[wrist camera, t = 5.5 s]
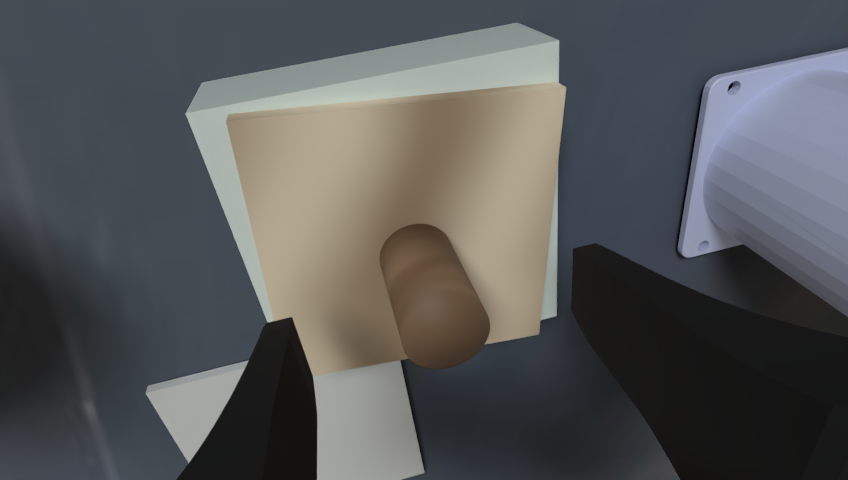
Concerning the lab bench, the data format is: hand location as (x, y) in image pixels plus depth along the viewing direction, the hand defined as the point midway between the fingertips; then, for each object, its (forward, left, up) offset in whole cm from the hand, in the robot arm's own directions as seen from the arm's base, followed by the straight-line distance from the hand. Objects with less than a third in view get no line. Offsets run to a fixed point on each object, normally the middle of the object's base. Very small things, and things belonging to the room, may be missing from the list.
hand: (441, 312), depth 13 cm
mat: (+6, +11, -7) cm, 14 cm away
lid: (0, 0, -4) cm, 4 cm away
